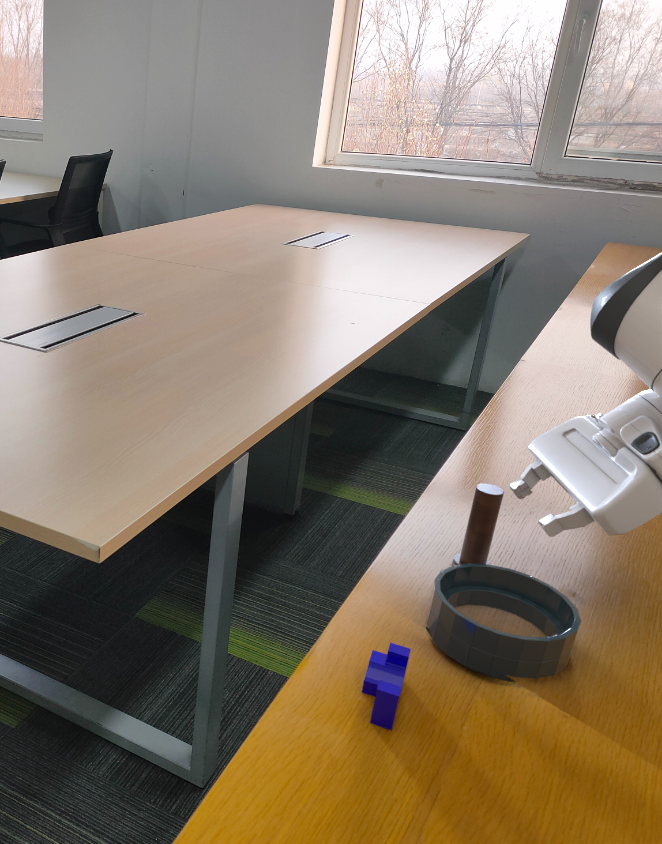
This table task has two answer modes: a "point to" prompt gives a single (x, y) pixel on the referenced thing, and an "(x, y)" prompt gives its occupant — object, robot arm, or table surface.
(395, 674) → the blue stepped block
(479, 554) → the pestle
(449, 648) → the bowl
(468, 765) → the table surface
